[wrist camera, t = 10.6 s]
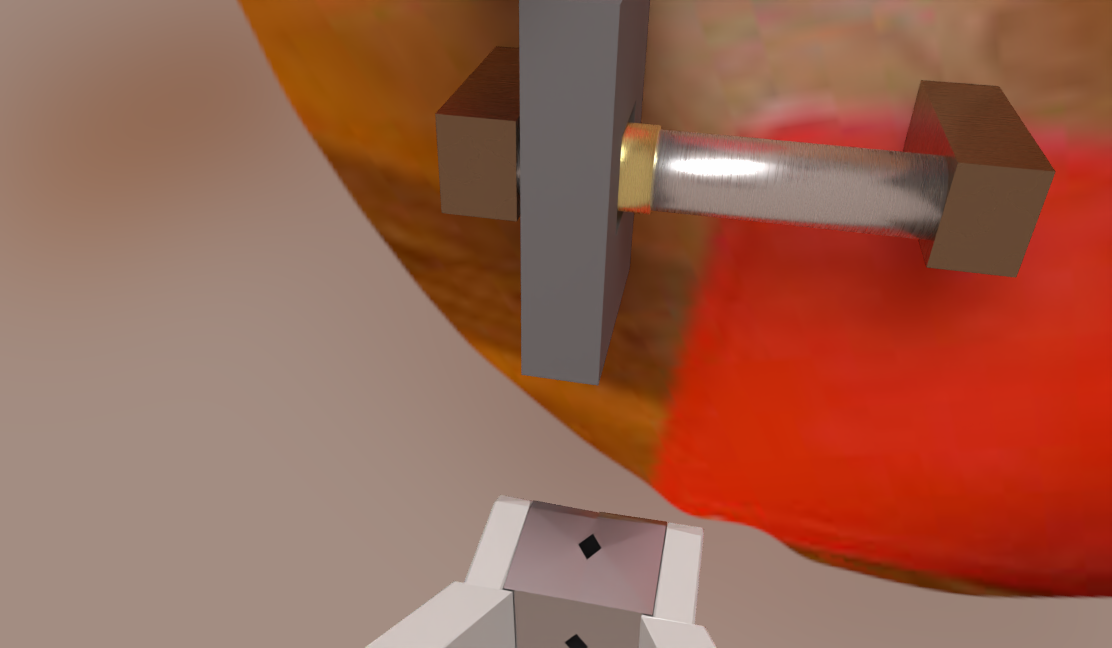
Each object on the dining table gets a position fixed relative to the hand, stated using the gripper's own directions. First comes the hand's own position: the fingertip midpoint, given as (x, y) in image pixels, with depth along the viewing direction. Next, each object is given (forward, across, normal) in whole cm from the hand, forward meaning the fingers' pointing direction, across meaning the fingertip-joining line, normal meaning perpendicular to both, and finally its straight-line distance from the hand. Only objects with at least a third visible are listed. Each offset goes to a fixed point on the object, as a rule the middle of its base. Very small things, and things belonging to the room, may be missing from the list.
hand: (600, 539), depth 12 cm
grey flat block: (+26, +4, +4) cm, 27 cm away
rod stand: (+28, -1, +4) cm, 29 cm away
